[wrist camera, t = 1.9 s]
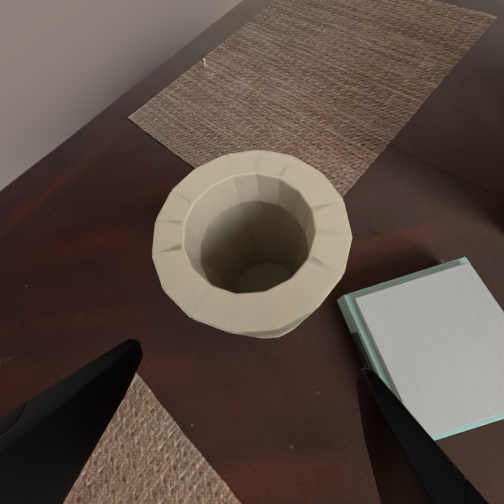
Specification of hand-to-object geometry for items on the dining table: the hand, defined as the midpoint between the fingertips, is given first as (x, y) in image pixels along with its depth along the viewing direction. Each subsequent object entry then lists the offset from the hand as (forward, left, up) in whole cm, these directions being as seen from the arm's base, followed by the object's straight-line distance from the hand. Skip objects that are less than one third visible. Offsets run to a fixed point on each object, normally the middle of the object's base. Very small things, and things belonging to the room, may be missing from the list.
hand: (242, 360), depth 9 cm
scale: (0, -13, -11) cm, 17 cm away
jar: (+4, -1, -11) cm, 12 cm away
